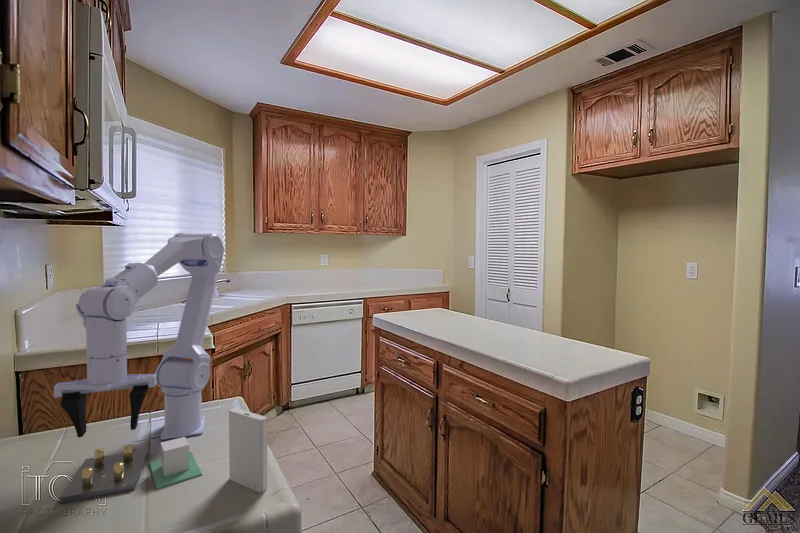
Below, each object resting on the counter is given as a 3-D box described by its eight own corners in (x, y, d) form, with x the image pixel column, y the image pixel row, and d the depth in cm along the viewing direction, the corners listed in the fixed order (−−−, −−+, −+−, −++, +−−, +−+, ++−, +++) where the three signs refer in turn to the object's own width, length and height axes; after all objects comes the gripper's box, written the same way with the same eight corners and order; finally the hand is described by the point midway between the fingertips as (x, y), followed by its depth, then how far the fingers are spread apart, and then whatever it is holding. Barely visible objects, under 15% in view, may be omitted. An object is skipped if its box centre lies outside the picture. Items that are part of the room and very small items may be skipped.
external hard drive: (260, 494, 67) (260, 420, 67) (228, 480, 71) (227, 410, 71) (268, 489, 69) (268, 416, 68) (236, 475, 73) (235, 407, 72)
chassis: (85, 464, 76) (85, 445, 76) (148, 454, 80) (147, 436, 80) (60, 503, 64) (59, 482, 64) (134, 489, 68) (134, 469, 68)
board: (149, 466, 76) (149, 438, 76) (190, 455, 80) (190, 429, 80) (156, 491, 68) (156, 460, 68) (201, 478, 72) (201, 448, 72)
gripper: (45, 365, 65) (47, 448, 65) (151, 356, 70) (152, 433, 71) (61, 354, 71) (63, 430, 72) (157, 347, 77) (158, 418, 77)
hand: (108, 431), depth 72 cm, fingers open, 7 cm apart
